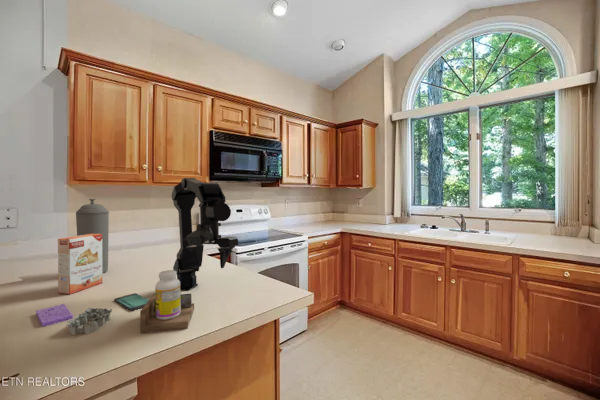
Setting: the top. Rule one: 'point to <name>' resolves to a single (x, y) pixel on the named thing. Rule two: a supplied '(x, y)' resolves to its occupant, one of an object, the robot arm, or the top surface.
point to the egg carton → (96, 320)
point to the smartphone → (132, 301)
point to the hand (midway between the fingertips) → (210, 267)
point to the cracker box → (79, 262)
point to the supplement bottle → (167, 295)
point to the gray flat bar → (185, 300)
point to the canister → (94, 226)
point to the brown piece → (154, 324)
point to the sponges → (53, 315)
